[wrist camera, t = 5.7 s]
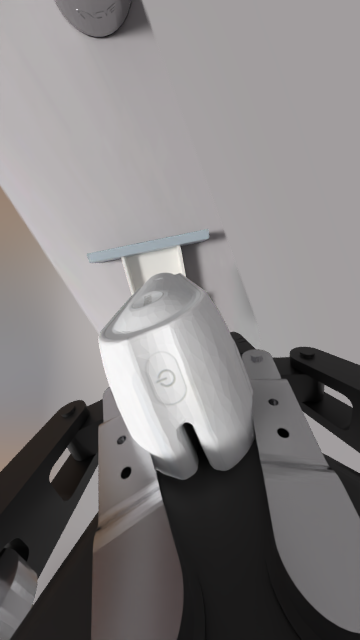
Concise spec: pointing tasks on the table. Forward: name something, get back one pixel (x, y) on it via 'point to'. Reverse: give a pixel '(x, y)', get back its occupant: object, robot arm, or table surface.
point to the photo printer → (178, 377)
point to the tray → (150, 257)
